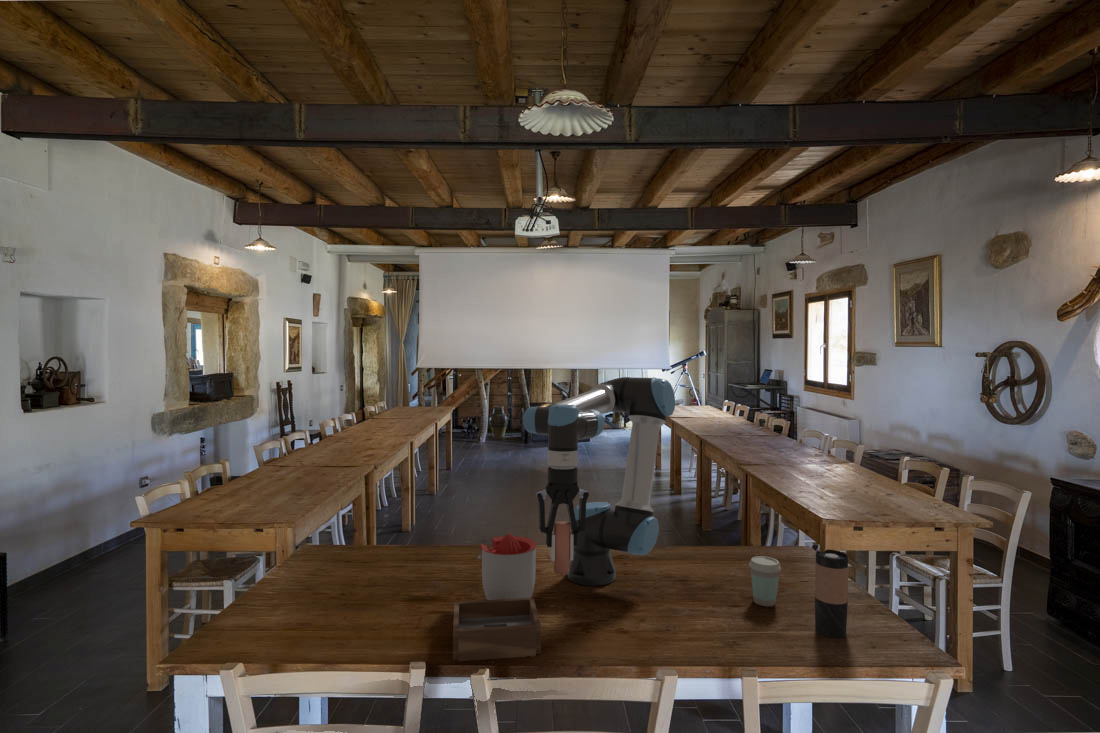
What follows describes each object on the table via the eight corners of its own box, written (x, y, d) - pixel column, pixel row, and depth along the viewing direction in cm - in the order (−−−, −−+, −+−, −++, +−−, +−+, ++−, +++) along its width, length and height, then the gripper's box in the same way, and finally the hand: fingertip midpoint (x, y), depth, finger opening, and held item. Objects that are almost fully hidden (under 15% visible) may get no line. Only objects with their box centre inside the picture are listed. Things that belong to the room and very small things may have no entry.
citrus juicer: (494, 588, 181) (494, 522, 180) (545, 598, 173) (546, 529, 173) (464, 608, 167) (464, 536, 166) (519, 620, 159) (519, 545, 159)
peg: (552, 568, 153) (553, 521, 153) (567, 567, 154) (568, 521, 153) (555, 574, 149) (555, 526, 149) (571, 573, 150) (571, 525, 150)
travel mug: (845, 641, 148) (846, 561, 148) (811, 633, 152) (813, 555, 152) (848, 629, 155) (850, 552, 154) (816, 622, 159) (817, 547, 158)
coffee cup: (783, 609, 166) (783, 567, 166) (750, 607, 168) (751, 564, 168) (777, 597, 175) (778, 556, 174) (747, 594, 176) (747, 554, 176)
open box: (454, 628, 154) (454, 601, 154) (533, 624, 157) (533, 597, 157) (453, 661, 138) (453, 631, 138) (541, 655, 141) (541, 626, 141)
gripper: (531, 469, 146) (530, 565, 146) (599, 468, 149) (598, 562, 149) (527, 464, 153) (526, 555, 154) (592, 463, 156) (590, 552, 157)
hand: (561, 558), depth 151 cm, fingers closed on peg, 4 cm apart
